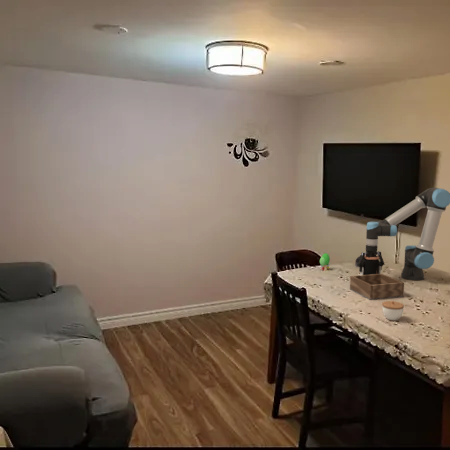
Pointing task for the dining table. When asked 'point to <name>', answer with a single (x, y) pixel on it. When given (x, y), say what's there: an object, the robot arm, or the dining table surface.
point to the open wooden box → (376, 286)
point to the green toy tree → (325, 261)
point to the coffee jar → (371, 265)
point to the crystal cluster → (357, 261)
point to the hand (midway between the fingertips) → (370, 275)
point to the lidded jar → (392, 310)
